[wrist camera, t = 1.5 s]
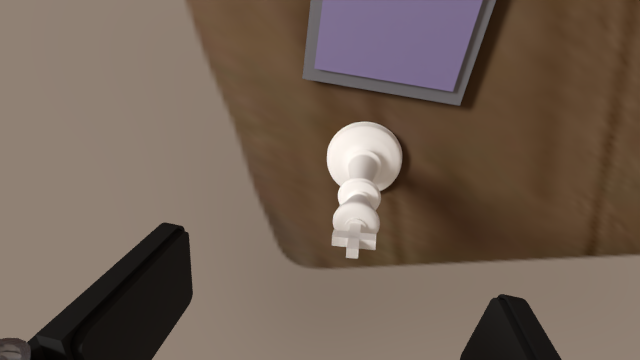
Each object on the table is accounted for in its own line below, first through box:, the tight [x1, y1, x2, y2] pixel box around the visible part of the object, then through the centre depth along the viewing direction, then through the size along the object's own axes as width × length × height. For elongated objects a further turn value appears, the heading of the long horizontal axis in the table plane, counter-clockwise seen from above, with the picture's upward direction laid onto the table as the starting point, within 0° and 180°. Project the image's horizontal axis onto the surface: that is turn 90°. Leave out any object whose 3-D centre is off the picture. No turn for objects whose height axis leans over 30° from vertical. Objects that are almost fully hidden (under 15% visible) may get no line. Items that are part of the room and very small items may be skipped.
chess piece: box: [327, 122, 402, 259], centre depth 16 cm, size 5×5×10 cm
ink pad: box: [302, 0, 496, 106], centre depth 15 cm, size 9×9×1 cm
